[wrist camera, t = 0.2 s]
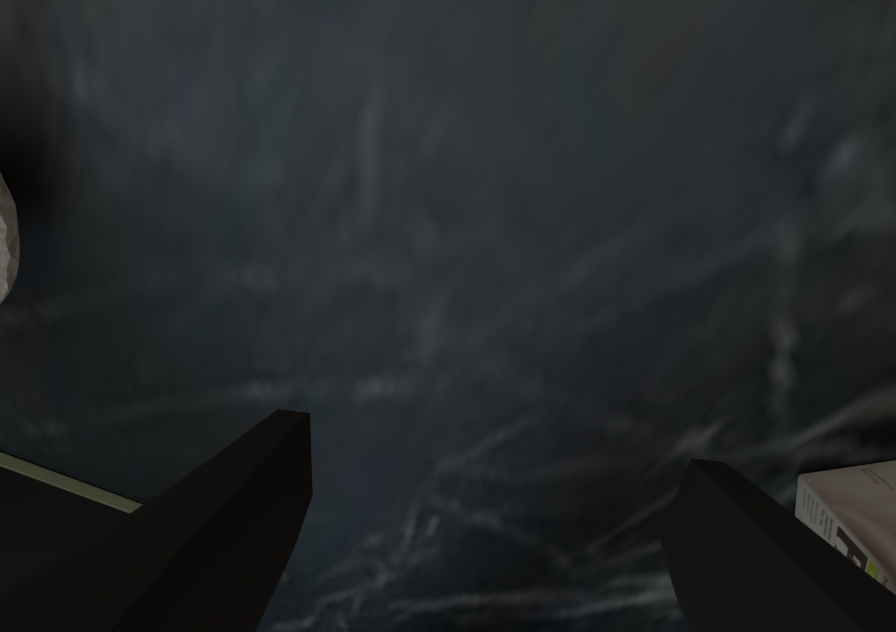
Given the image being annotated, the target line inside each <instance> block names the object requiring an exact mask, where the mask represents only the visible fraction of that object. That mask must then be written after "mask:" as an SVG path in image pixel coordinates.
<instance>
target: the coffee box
mask: <svg viewBox="0 0 896 632" xmlns="http://www.w3.org/2000/svg"><path fill="white" fill-rule="evenodd" d="M795 517H797V518H798V519H799V520H800V521H802V522H803V523H804V524H805V525H807V526H808V527H809V528H810V529H812V530H813V531H814V532H815V533H817V534H818V535H819V536H821V537H822V538H823V539H824V540H826V541H827V542H828V543H829V544H831V545H832V546H833V547H834V548H836V549H837V550H838V551H840V552H841V553H842V554H843V555H845V556H846V557H847V558H849V559H850V560H851V561H852V562H854V563H855V564H856V565H858V566H859V567H860V568H861V569H863V570H864V571H865V572H867V573H868V574H869V575H870V576H872V577H873V578H874V579H876V580H877V581H878V582H880V583H881V584H882V585H884V586H885V587H886V588H888V589H889V590H890V591H891V592H893V593H894V594H895V595H896V460H893V461H887V462H880V463H873V464H867V465H860V466H853V467H847V468H840V469H833V470H826V471H819V472H812V473H806V474H800V475H799V476H798V482H797V493H796V508H795Z"/></svg>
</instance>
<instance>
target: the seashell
mask: <svg viewBox="0 0 896 632" xmlns="http://www.w3.org/2000/svg"><path fill="white" fill-rule="evenodd" d="M19 253H20V245H19V228H18V219H17V211H16V204H15V202H14V200H13V198H12V196H11V193H10V191H9V189H8V187H7V185H6V183H5V181H4V179H3V176H2V173H1V172H0V304H1V303H2V302H3V301H4V299H5V298H6V297H7V296H8V294H9V293H10V291H11V289H12V286H13V284H14V281H15V279H16V276H17V271H18V266H19Z"/></svg>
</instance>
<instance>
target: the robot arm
mask: <svg viewBox="0 0 896 632" xmlns="http://www.w3.org/2000/svg"><path fill="white" fill-rule="evenodd" d="M312 494H313V492H312V463H311V433H310V413H305V412H296V411H288V410H280V409H278V410H277V411H275V412H274V413H272V414H271V415H269V416H268V417H267V418H265V419H264V420H262V421H261V422H260V423H258V424H257V425H256V426H254V427H253V428H252V429H250V430H249V431H247V432H246V433H245V434H243V435H242V436H241V437H239V438H238V439H237V440H235V441H234V442H233V443H231V444H230V445H228V446H227V447H226V448H224V449H223V450H222V451H220V452H219V453H217V454H216V455H215V456H213V457H212V458H211V459H209V460H208V461H206V462H205V463H204V464H202V465H201V466H199V467H198V468H196V469H195V470H194V471H192V472H191V473H189V474H188V475H187V476H185V477H184V478H182V479H181V480H180V481H178V482H177V483H175V484H174V485H172V486H171V487H169V488H168V489H166V490H165V491H163V492H162V493H160V494H159V495H157V496H156V497H154V498H152V499H151V500H149V501H148V502H146V503H145V504H143V505H142V506H140V507H139V508H137V509H136V510H134V511H133V512H131V513H130V514H128V515H127V516H125V517H124V518H122V519H121V520H119V521H117V522H116V523H114V524H113V525H111V526H110V527H108V528H107V529H105V530H103V531H102V532H100V533H99V534H97V535H95V536H94V537H92V538H90V539H89V540H87V541H85V542H84V543H82V544H80V545H79V546H77V547H75V548H74V549H72V550H70V551H69V552H67V553H65V554H64V555H62V556H60V557H58V558H57V559H55V560H53V561H51V562H50V563H48V564H46V565H44V566H43V567H41V568H39V569H37V570H36V571H34V572H32V573H30V574H29V575H27V576H25V577H23V578H22V579H20V580H18V581H16V582H15V583H13V584H11V585H9V586H7V587H6V588H4V589H2V590H0V632H255V630H256V628H257V626H258V624H259V622H260V620H261V618H262V616H263V614H264V611H265V609H266V607H267V605H268V603H269V601H270V599H271V597H272V595H273V592H274V590H275V588H276V586H277V584H278V582H279V580H280V577H281V575H282V573H283V571H284V569H285V567H286V565H287V562H288V560H289V558H290V556H291V554H292V552H293V549H294V547H295V544H296V542H297V539H298V536H299V533H300V530H301V527H302V525H303V522H304V519H305V516H306V513H307V510H308V507H309V504H310V501H311V498H312ZM659 538H660V541H661V545H662V549H663V553H664V556H665V560H666V564H667V568H668V571H669V574H670V578H671V581H672V584H673V588H674V591H675V594H676V597H677V599H678V602H679V604H680V607H681V609H682V612H683V614H684V617H685V619H686V622H687V624H688V627H689V629H690V632H896V595H895V594H894V593H893V592H891V591H890V590H889V589H888V588H886V587H885V586H884V585H882V584H881V583H880V582H878V581H877V580H876V579H874V578H873V577H872V576H870V575H869V574H868V573H867V572H865V571H864V570H863V569H861V568H860V567H859V566H858V565H856V564H855V563H854V562H852V561H851V560H850V559H849V558H847V557H846V556H845V555H843V554H842V553H841V552H840V551H838V550H837V549H836V548H834V547H833V546H832V545H831V544H829V543H828V542H827V541H826V540H824V539H823V538H822V537H821V536H819V535H818V534H817V533H815V532H814V531H813V530H812V529H810V528H809V527H808V526H807V525H805V524H804V523H803V522H802V521H800V520H799V519H798V518H797V517H795V516H794V515H793V514H792V513H790V512H789V511H788V510H786V509H785V508H784V507H783V506H781V505H780V504H779V503H778V502H776V501H775V500H774V499H773V498H771V497H770V496H769V495H768V494H766V493H765V492H764V491H762V490H761V489H760V488H759V487H757V486H756V485H755V484H753V483H752V482H751V481H749V480H748V479H747V478H745V477H744V476H743V475H741V474H740V473H739V472H737V471H736V470H735V469H733V468H732V467H730V466H729V465H727V464H726V463H724V462H718V461H709V460H701V459H693V458H691V460H690V462H689V465H688V467H687V470H686V472H685V475H684V477H683V480H682V482H681V484H680V487H679V489H678V492H677V494H676V497H675V499H674V501H673V504H672V506H671V509H670V511H669V514H668V516H667V519H666V521H665V523H664V526H663V528H662V531H661V533H660V536H659Z"/></svg>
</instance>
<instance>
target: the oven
mask: <svg viewBox="0 0 896 632" xmlns="http://www.w3.org/2000/svg"><path fill="white" fill-rule="evenodd" d="M142 505H143V504H140V503H138V502H135V501H132V500H130V499H127V498H124V497H121V496H119V495H116V494H113V493H111V492H108V491H105V490H102V489H100V488H97V487H94V486H92V485H89V484H86V483H83V482H81V481H78V480H75V479H73V478H70V477H67V476H64V475H62V474H59V473H56V472H54V471H51V470H48V469H45V468H43V467H40V466H37V465H35V464H32V463H29V462H26V461H24V460H21V459H18V458H16V457H13V456H10V455H7V454H5V453H2V452H0V590H2V589H4V588H6V587H7V586H9V585H11V584H13V583H15V582H16V581H18V580H20V579H22V578H23V577H25V576H27V575H29V574H30V573H32V572H34V571H36V570H37V569H39V568H41V567H43V566H44V565H46V564H48V563H50V562H51V561H53V560H55V559H57V558H58V557H60V556H62V555H64V554H65V553H67V552H69V551H70V550H72V549H74V548H75V547H77V546H79V545H80V544H82V543H84V542H85V541H87V540H89V539H90V538H92V537H94V536H95V535H97V534H99V533H100V532H102V531H103V530H105V529H107V528H108V527H110V526H111V525H113V524H114V523H116V522H117V521H119V520H121V519H122V518H124V517H125V516H127V515H128V514H130V513H131V512H133V511H134V510H136V509H137V508H139V507H140V506H142Z"/></svg>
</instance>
